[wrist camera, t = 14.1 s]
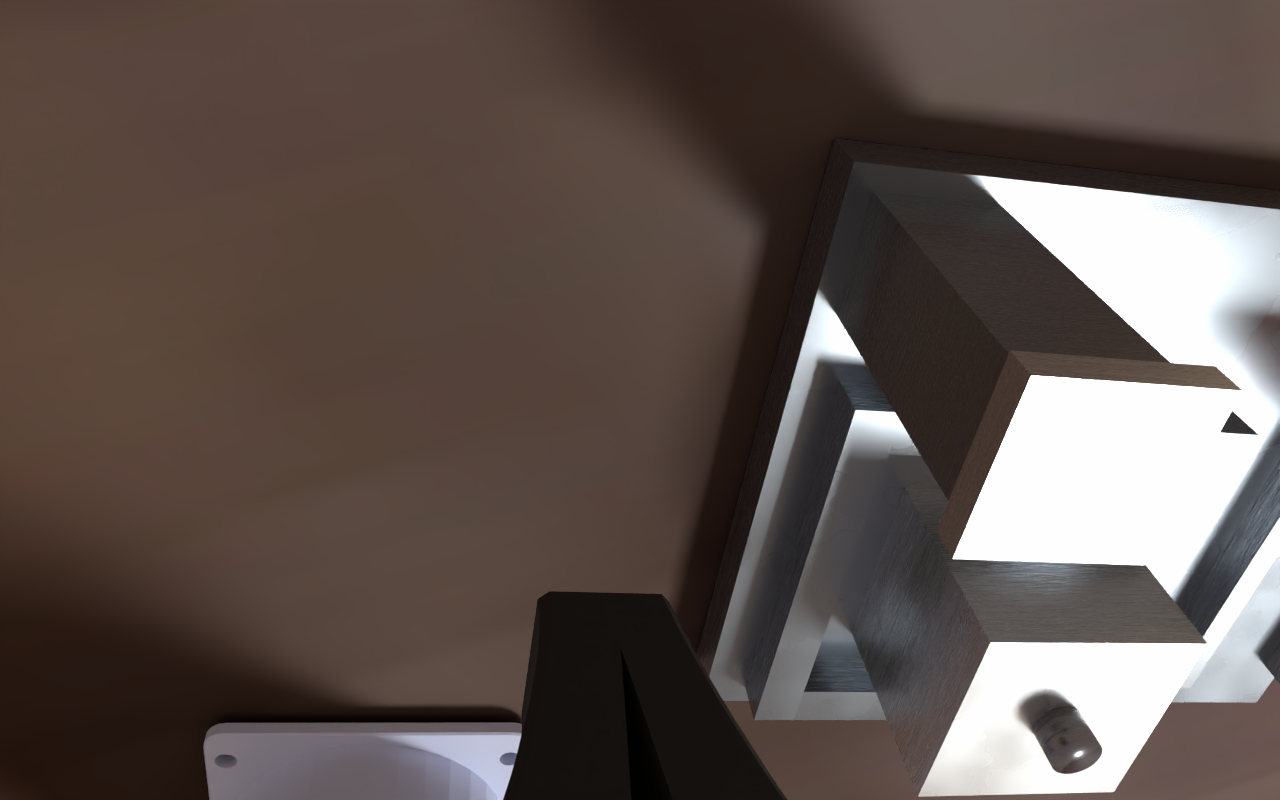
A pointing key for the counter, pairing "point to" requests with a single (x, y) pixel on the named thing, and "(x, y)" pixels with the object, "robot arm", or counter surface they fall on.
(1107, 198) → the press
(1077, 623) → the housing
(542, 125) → the counter surface
